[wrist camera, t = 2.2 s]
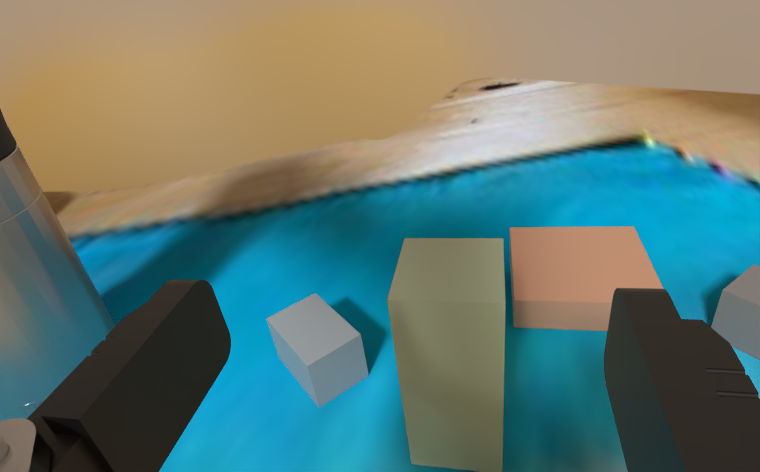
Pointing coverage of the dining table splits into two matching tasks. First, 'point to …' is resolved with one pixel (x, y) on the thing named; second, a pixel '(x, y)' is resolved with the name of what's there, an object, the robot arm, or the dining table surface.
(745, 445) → the robot arm
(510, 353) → the dining table surface
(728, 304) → the grey rectangular block
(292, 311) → the light gray block
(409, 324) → the sage tower brick
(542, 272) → the terracotta base brick
